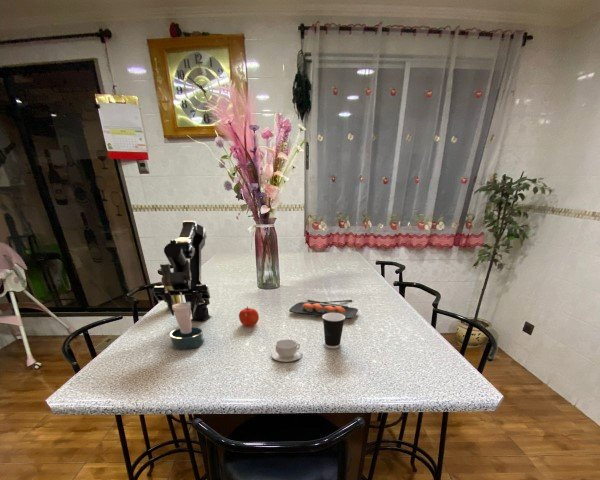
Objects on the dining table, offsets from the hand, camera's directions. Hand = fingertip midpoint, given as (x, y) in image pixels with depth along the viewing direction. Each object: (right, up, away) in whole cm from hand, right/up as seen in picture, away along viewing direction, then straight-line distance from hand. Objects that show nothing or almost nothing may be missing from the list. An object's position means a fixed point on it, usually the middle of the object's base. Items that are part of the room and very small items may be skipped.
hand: (182, 314), depth 125 cm
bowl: (0, -9, +7) cm, 11 cm away
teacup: (+36, -15, -3) cm, 40 cm away
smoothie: (0, -5, +4) cm, 7 cm away
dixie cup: (+53, -10, +5) cm, 54 cm away
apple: (+20, +1, +23) cm, 30 cm away
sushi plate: (+54, +12, +40) cm, 69 cm away
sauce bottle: (-18, +13, +43) cm, 48 cm away
